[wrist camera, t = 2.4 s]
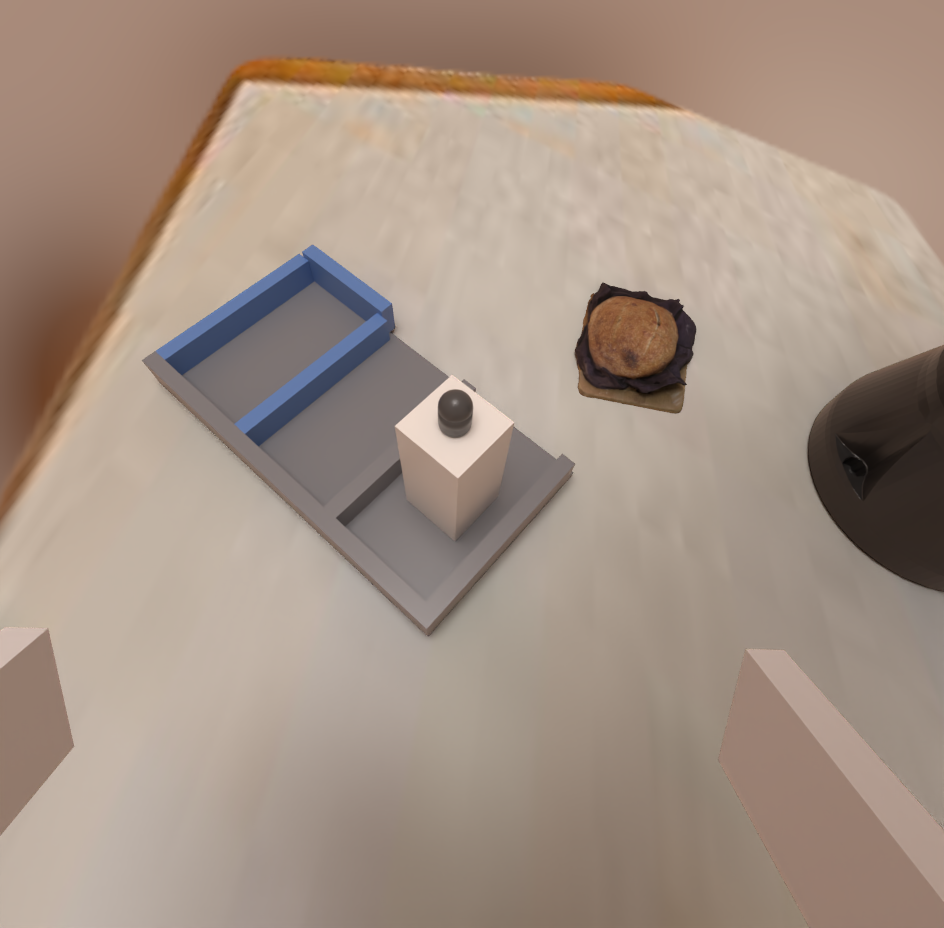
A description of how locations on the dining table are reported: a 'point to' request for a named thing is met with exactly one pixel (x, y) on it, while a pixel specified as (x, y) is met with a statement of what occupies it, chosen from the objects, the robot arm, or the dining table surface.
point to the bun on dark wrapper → (635, 349)
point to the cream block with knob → (453, 455)
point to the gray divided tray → (344, 428)
